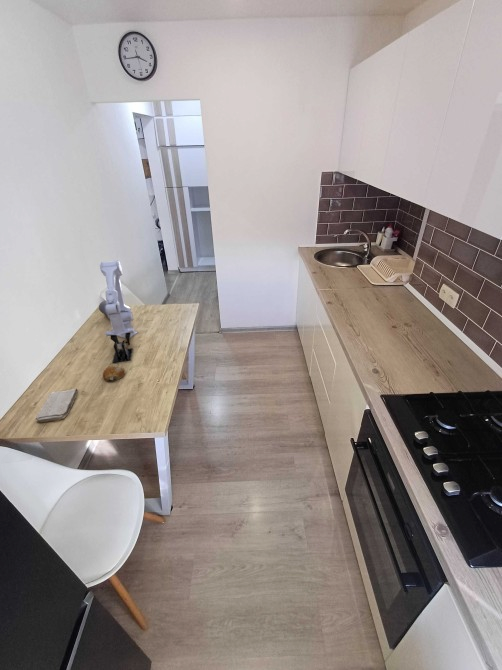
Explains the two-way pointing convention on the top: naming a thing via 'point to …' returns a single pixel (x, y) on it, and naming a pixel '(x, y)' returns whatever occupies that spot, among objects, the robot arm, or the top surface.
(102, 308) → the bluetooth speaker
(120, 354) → the tap bracket
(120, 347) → the tap lever
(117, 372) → the bread roll
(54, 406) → the washcloth
